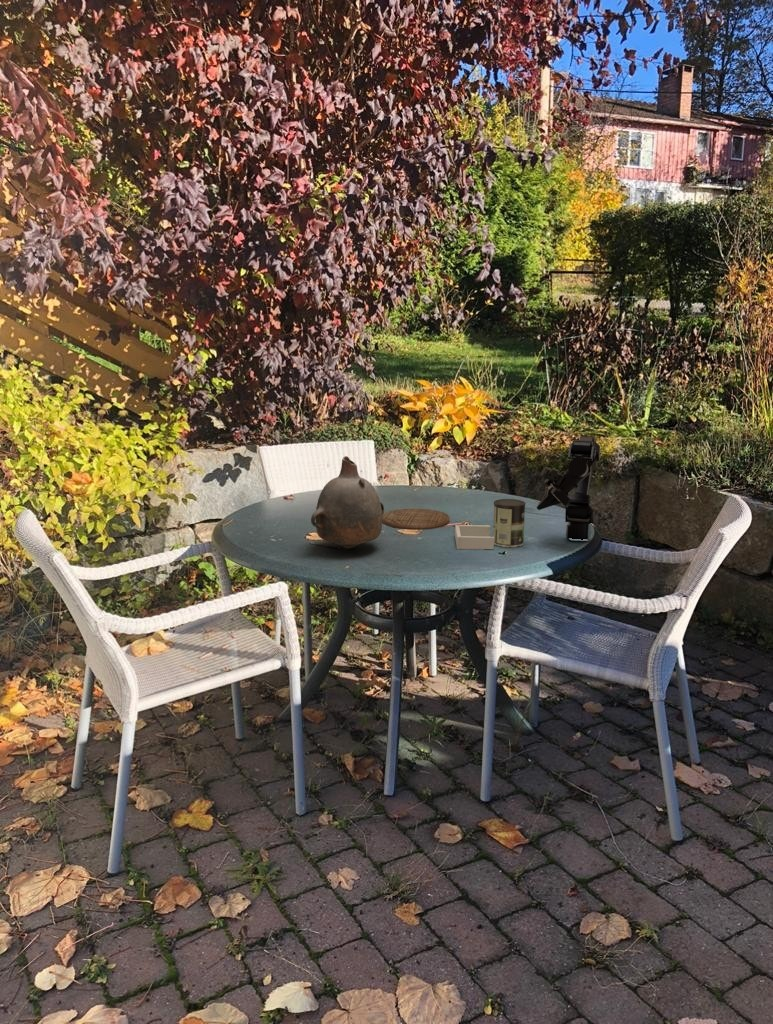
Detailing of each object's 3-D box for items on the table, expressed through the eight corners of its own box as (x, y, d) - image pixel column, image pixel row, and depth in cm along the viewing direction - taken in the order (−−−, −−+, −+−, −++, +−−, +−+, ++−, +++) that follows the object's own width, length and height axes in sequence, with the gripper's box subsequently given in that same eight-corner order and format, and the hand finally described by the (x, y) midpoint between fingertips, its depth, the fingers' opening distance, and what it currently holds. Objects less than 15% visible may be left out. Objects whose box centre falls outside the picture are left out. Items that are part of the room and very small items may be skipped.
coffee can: (522, 539, 268) (523, 498, 265) (525, 548, 258) (527, 506, 255) (491, 538, 269) (492, 498, 266) (493, 547, 259) (494, 505, 256)
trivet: (444, 532, 278) (444, 527, 278) (375, 528, 283) (375, 523, 282) (453, 515, 302) (453, 510, 301) (388, 511, 307) (389, 507, 306)
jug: (358, 563, 242) (357, 466, 235) (300, 553, 252) (298, 460, 245) (396, 544, 263) (397, 454, 255) (341, 535, 273) (340, 448, 265)
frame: (489, 536, 271) (490, 525, 270) (493, 549, 257) (494, 537, 256) (455, 536, 272) (455, 525, 271) (456, 549, 257) (457, 537, 256)
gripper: (552, 453, 265) (517, 485, 268) (561, 464, 247) (524, 498, 250) (574, 476, 267) (539, 508, 270) (585, 489, 249) (548, 522, 252)
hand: (537, 508), depth 260 cm, fingers closed
